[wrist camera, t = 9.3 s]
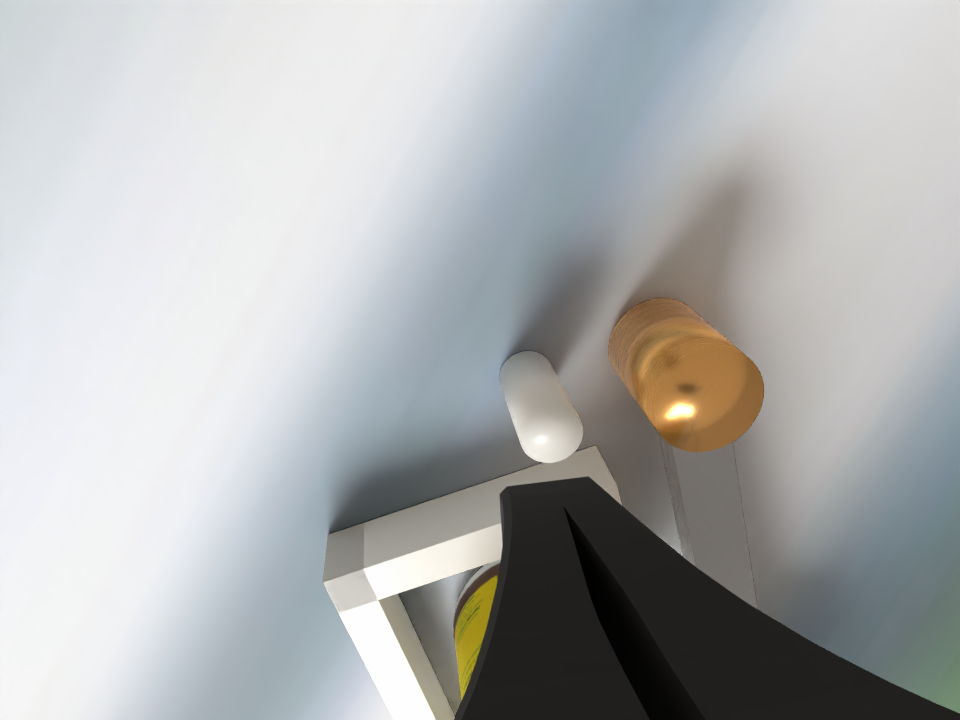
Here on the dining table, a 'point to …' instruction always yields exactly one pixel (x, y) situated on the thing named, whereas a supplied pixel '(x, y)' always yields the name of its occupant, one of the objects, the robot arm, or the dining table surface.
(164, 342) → the dining table surface
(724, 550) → the gold-tipped lever
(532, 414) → the post
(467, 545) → the socket
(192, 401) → the dining table surface
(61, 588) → the dining table surface
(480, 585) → the supplement bottle
